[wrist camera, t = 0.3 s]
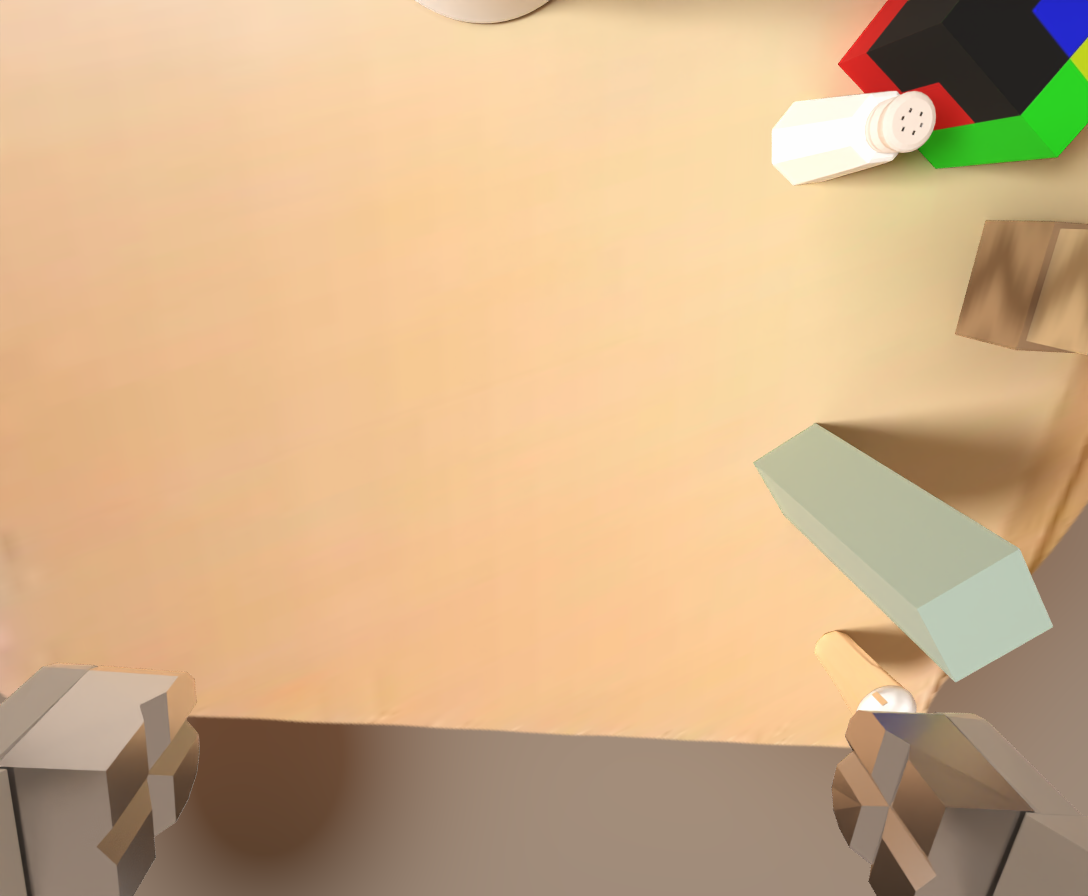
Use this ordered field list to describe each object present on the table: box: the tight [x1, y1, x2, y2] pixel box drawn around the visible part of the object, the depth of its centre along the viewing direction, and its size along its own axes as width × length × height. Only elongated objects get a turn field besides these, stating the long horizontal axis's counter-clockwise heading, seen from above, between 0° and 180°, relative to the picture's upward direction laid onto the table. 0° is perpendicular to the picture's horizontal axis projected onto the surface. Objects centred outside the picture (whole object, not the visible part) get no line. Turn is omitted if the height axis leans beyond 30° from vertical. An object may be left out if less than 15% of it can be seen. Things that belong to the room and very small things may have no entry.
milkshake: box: [814, 631, 916, 715], centre depth 53 cm, size 5×5×10 cm
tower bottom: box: [955, 220, 1088, 353], centre depth 46 cm, size 8×8×6 cm
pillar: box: [753, 423, 1053, 682], centre depth 42 cm, size 6×6×20 cm
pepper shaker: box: [772, 91, 936, 185], centre depth 38 cm, size 5×5×11 cm
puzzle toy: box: [838, 0, 1088, 169], centre depth 38 cm, size 10×10×10 cm
